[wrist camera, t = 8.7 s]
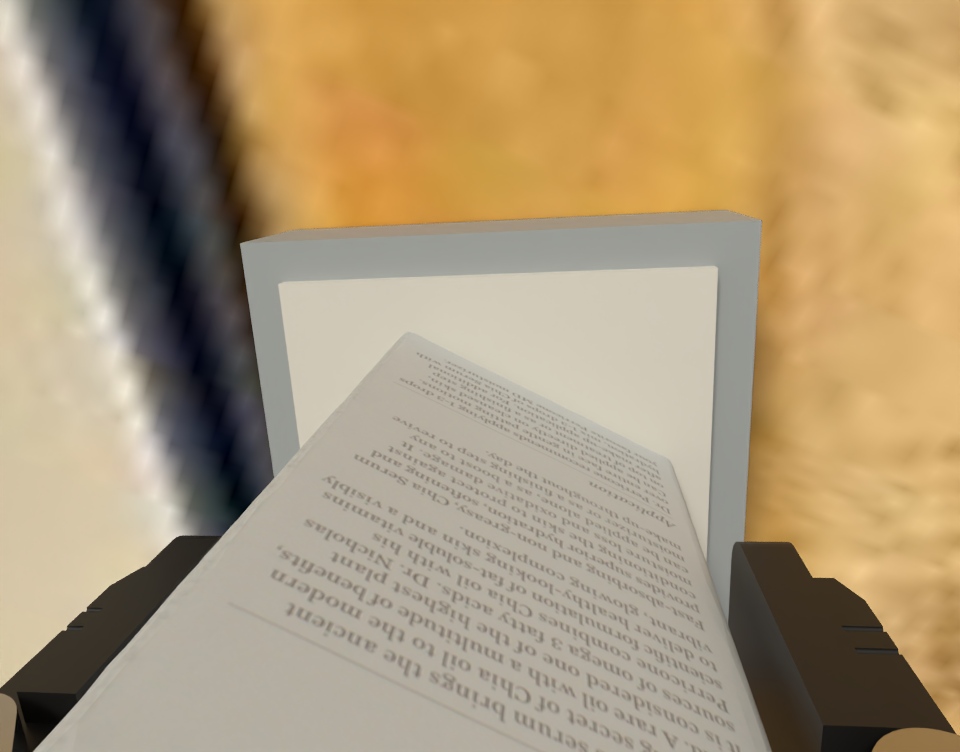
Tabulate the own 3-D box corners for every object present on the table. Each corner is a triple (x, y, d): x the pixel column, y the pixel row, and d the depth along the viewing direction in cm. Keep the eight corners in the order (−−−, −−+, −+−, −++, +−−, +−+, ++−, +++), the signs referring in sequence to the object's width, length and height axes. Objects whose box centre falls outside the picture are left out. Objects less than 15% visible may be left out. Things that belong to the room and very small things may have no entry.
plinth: (339, 594, 20) (297, 675, 17) (294, 229, 17) (233, 244, 14) (710, 601, 19) (739, 690, 16) (726, 209, 16) (766, 221, 13)
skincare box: (328, 497, 15) (-363, 1464, 4) (408, 323, 14) (-282, 1020, 3) (581, 620, 15) (619, 1897, 4) (683, 460, 14) (1156, 1683, 3)
